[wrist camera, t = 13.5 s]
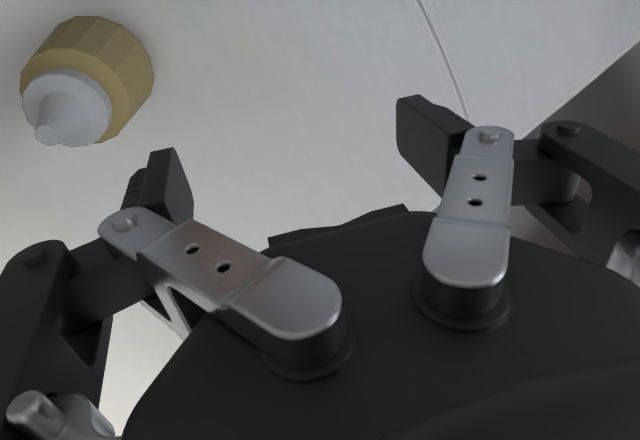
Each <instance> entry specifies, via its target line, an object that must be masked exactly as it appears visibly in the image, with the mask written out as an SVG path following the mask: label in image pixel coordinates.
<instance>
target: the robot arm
mask: <svg viewBox="0 0 640 440" xmlns="http://www.w3.org/2000/svg"><path fill="white" fill-rule="evenodd" d="M396 141H397V147H398V150H399V153H400V154H401V156H402V157H403V158H404V159H405V160H406V161H407V162H408V163H409V164H410V165H411V166H412V167H413V168H414V170H415V171H416V172H417V173H418V174H419V175H420V176H421V177H422V178H423V179H424V180H425V181H426V182H427V183H428V184H429V185H430V186H431V187H432V189H433V190H434V191H435V192H436V193H437V194H438V195H439V196H440V197H441V198H442V200H441V203H440V207H439V210H438V213H434V212H425V211H410V212H409V211H408V209H407V208H406V207H405V205H404V204H399V205H395V206H391V207H387V208H383V209H379V210H375V211H371V212H369V213H367V214H364V215H362V216H360V217H358V218H356V219H353V220H351V221H349V222H347V223H344V224H342V225H339V226H331V227H319V228H308V229H300V230H296V231H292V232H288V233H284V234H280V235H276V236H272V237H268V243H269V248H267V249H265V250H263V251H261V252H257V251H255V250H253V249H251V248H249V247H247V246H245V245H243V244H241V243H239V242H237V241H235V240H233V239H231V238H229V237H227V236H225V235H223V234H221V233H219V232H217V231H215V230H213V229H211V228H209V227H207V226H205V225H203V224H201V223H199V222H197V221H195V220H193V210H194V201H193V196H192V192H191V189H190V186H189V183H188V181H187V178H186V175H185V173H184V170H183V168H182V165H181V162H180V160H179V157H178V155H177V152H176V150H175V149H174V148H173V147H171V148H167V149H162V150H158V151H153V152H151V153H150V156H149V160H148V164H147V168H142V169H139V170H138V171H137V172H136V173H135V174H134V175H133V176H132V177H131V178H130V180H129V184H128V188H127V190H126V193H125V194H126V195H125V196H124V199H123V203H122V206H121V209H120V211H118V212H116V213H114V214H112V215H110V216H109V217H107V218H106V219H105V220H104V221H102V223H101V224H100V225H99V227H98V234H99V236H100V237H99V238H98V239H96V240H94V241H92V242H89V243H87V244H85V245H82V246H80V247H77V248H75V249H73V250H70V251H69V250H68V248H67V247H66V245H65V244H64V243H63V242H62V241H60V240H47V241H43V242H39V243H36V244H34V245H32V246H29V247H27V248H25V249H24V250H22V251H20V252H19V253H18V254H16V255H15V256H14V257H13V258H11V259H10V261H9V262H8V263H7V264H6V266H5V268H4V270H3V272H2V273H1V275H0V440H640V152H639V151H636V150H635V149H633V148H631V147H629V146H627V145H625V144H623V143H621V142H619V141H617V140H615V139H614V138H612V137H609V136H608V135H606V134H604V133H602V132H600V131H598V130H596V129H594V128H592V127H590V126H588V125H586V124H583V123H579V122H574V121H552V122H548V123H546V124H544V125H543V126H542V127H541V131H540V135H539V139H526V140H514V134H513V133H512V132H511V131H510V130H508V129H505V128H502V127H497V126H479V127H475V126H474V125H472V124H471V123H469V122H467V121H466V120H464V119H463V118H462V119H461V117H460V116H458V115H457V114H455V113H454V112H452V111H451V110H449V109H448V108H446V107H443V106H439V105H436V104H433V103H431V102H430V101H428V100H427V99H425V98H424V97H422V96H421V95H419V94H417V95H413V96H408V97H403V98H399V99H398V100H397V104H396ZM581 177H582V178H583V179H585V180H586V181H587V182H588V183H589V184H590V186H591V188H592V194H593V195H592V199H591V202H590V204H589V203H587V202H586V201H585V200H583V199H582V198H581V197H579V196H578V195H577V194H575V193H576V190H577V187H578V184H579V181H580V178H581ZM517 205H524V206H525V208H526V209H527V210H528V211H529V212H530V213H531V214H532V215H533V216H534V217H535V218H537V220H539V221H540V222H541V223H542V224H543V225H544V226H545V227H546V228H547V229H549V230H550V231H551V232H552V233H553V234H554V235H555V236H556V237H557V238H558V239H559V240H561V241H562V242H563V243H564V244H565V245H566V246H567V247H568V248H569V249H570V250H572V251H573V252H574V253H575V254H576V255H577V256H578V257H579V258H577V257H574V256H571V255H568V254H565V253H562V252H559V251H556V250H552V249H549V248H546V247H543V246H540V245H537V244H534V243H531V242H528V241H525V240H521V239H518V238H515V237H512V236H510V227H509V221H510V209H511V206H517ZM137 302H140V304H141V305H142V306H143V307H145V308H146V309H147V310H148V311H149V312H151V313H152V314H153V315H154V316H156V317H157V318H158V319H159V320H160V321H162V322H163V323H164V324H165V325H167V326H168V327H169V328H170V329H171V330H173V331H174V332H175V333H176V334H177V335H178V336H179V337H180V338H181V339H182V341H183V343H182V344H181V346H180V347H179V348H178V349H177V351H176V352H175V353H174V355H173V356H172V357H171V359H170V360H169V361H168V363H167V364H166V365H165V367H164V368H163V369H162V371H161V372H160V373H159V374H158V376H157V377H156V378H155V380H154V381H153V382H152V384H151V385H150V386H149V388H148V389H147V390H146V392H145V393H144V394H143V396H142V397H141V398H140V400H139V401H138V403H137V404H136V406H135V407H134V409H133V411H132V413H131V415H130V416H129V418H128V420H127V423H126V425H125V428H124V430H123V433H122V436H117V437H115V431H114V428H113V426H112V424H111V423H110V422H109V421H108V420H107V419H106V418H105V417H104V416H103V415H102V414H101V413H100V411H99V410H98V408H99V402H100V396H101V390H102V383H103V377H104V371H105V365H106V359H107V353H108V346H109V340H110V334H111V328H112V322H113V314H115V313H117V312H119V311H121V310H123V309H125V308H127V307H129V306H131V305H133V304H135V303H137Z"/></svg>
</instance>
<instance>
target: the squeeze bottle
mask: <svg viewBox="0 0 640 440" xmlns="http://www.w3.org/2000/svg"><path fill="white" fill-rule="evenodd" d="M153 81H154V74H153V69H152V64H151V59H150V57H149V55H148V54H147V52H146V51H145V49H144V47H143V46H142V44H141V42H140V41H139V40H138V39H137V38H136V37H135V36H134V35H132V34H131V33H130V32H129V31H128V30H126V29H125V28H124V27H123V26H122V25H120V24H117V23H115V22H112V21H110V20H107V19H105V18H102V17H99V16H76V17H74V18H71V19H69V20H67V21H65V22H63V23H61V24H58V26H57V27H56V28H55V29H54V30H53V32H52V33H51V34H50V35H49V37H48V38H47V39H46V40H45V41H44V43H43V44H42V45H41V46H40V48H39V49H38V50H37V51H36V52H35V54H34V55H33V56H32V57H31V59H30V60H29V62H28V63H27V64H26V66H25V67H24V69H23V70H22V72H21V79H20V94H21V96H22V108H23V110H24V113H25V115H26V118H27V120H28V122H29V123H30V124H31V125H32V126H33V127H34V129H35V136H36V139H37V140H38V141H39V142H41V143H42V144H44V145H48V146H51V145H55V144H57V143H58V144H61V145H65V146H69V147H77V146H87V145H89V144H91V143H102V142H104V141H106V140H108V139H111V138H113V137H115V136H117V135H118V133H119V132H120V131H121V130H122V129H123V127H124V126H125V125H126V124H127V123H128V121H129V120H130V119H131V118H132V117H133V115H134V114H135V113H136V112H137V110H138V109H139V108H140V107H141V106H142V104H143V103H144V102H145V101H146V100H147V98H148V97H149V96H150V94H151V90H152V86H153Z"/></svg>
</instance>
